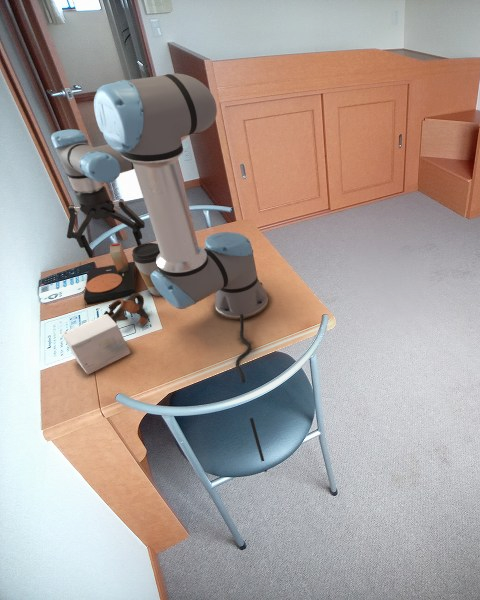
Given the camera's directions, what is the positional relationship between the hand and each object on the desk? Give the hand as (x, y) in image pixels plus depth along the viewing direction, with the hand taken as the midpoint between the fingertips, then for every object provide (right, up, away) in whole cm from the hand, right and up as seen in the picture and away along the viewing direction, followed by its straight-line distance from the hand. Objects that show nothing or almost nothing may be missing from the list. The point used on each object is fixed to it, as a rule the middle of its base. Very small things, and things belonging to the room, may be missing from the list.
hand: (116, 251), depth 134 cm
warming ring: (-2, -10, -3) cm, 11 cm away
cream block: (0, -5, +4) cm, 6 cm away
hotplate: (-1, -10, +2) cm, 10 cm away
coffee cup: (+14, -12, 0) cm, 19 cm away
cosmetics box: (+13, -31, -23) cm, 40 cm away
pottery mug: (+12, -21, -11) cm, 27 cm away
